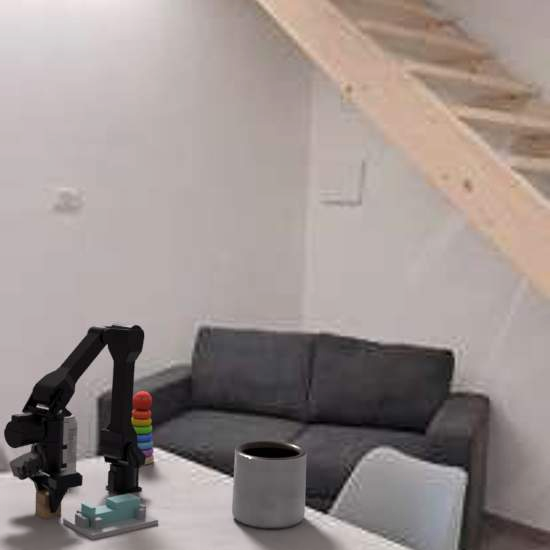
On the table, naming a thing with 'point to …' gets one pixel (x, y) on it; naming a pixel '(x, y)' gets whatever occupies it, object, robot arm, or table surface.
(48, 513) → the brown wooden cube
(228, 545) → the table surface
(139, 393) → the stacking toy
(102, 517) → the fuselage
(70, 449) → the energy drink can
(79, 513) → the jig
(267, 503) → the planter
